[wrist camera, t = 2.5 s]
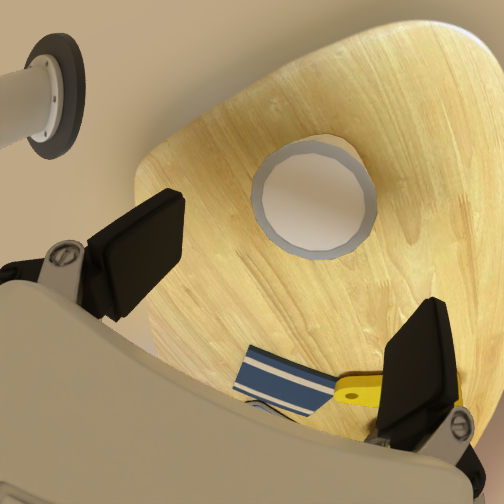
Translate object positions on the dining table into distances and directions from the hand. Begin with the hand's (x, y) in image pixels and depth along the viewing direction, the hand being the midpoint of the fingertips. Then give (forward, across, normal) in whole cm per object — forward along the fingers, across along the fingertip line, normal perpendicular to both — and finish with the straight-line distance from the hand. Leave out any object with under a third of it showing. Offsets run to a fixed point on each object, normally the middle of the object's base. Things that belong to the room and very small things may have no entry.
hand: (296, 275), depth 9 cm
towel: (+13, -5, +31) cm, 34 cm away
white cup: (+13, +1, 0) cm, 13 cm away
